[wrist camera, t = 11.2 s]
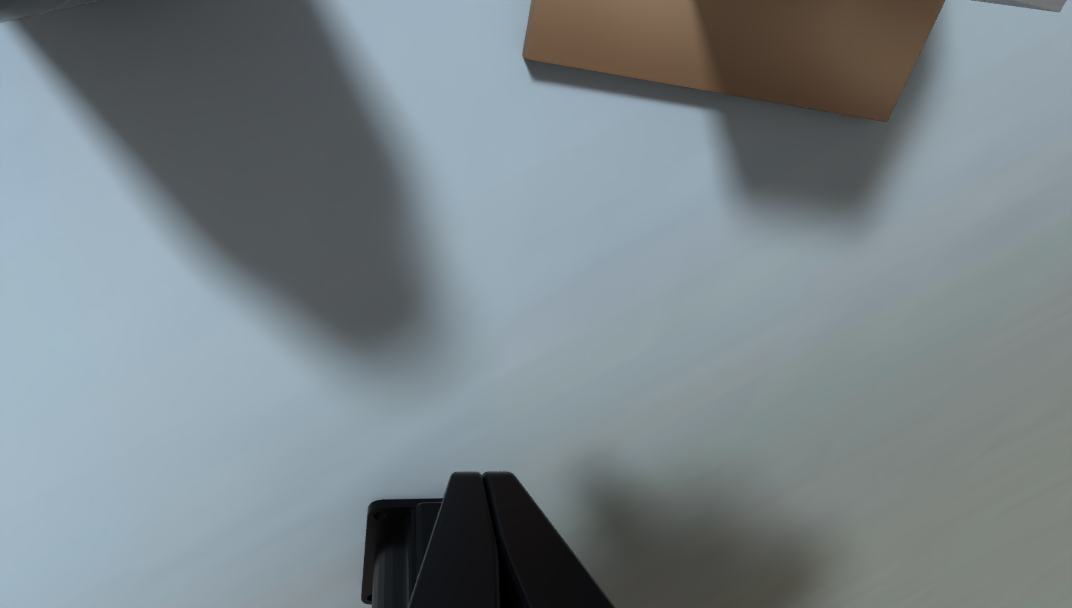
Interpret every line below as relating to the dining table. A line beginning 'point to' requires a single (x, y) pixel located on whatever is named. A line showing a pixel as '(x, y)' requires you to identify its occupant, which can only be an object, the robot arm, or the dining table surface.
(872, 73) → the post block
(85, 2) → the supplement bottle
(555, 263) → the dining table surface
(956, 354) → the dining table surface
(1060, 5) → the grey rectangular block
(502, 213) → the dining table surface
